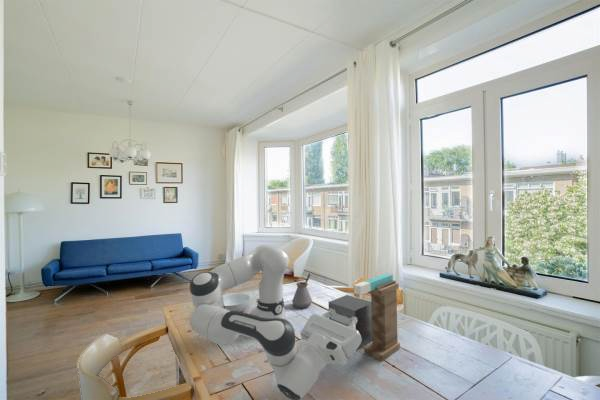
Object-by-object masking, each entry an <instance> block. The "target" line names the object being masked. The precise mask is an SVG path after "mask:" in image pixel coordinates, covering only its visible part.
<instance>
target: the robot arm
mask: <svg viewBox="0 0 600 400" xmlns="http://www.w3.org/2000/svg"><path fill="white" fill-rule="evenodd" d="M289 264H290V258H289V256H288V254H287V253H286V252H285V251H284V250H282V249H281V248H278V247H275V246H272V245H268V244H263V245H258V246H257V247H256V248H255V249H253V250H251V251H249V252H248V253H246V254H244V255H242V256H240V257H237V258H235V259H232V260H230V261H227V262H225V263H223V264H221V265H219V266H216V267H215V268H213V269H211V270H209V271H202V272H200V273H197V274H196V275H195V276H193V278H192V279H191V280H190V281H189V292H190V295H191V299H192V305H193V307H194V310H193V311H192V312H191V315H190V317H189V326H190V327H191V329H192V331H194V332H195V333H196V334H198V335H199V336H201V337H202V338H204V339H206V340H207V341H210V342H211V343H215V344H217V345H220V346H225V347H227V346H229V345H232V343H234V342H235V341H236V340H237V339H238V337H239V336H240V335H241V336H244V337H246V338H249V339H253V340H255V341H257V342H258V343H259V344H260V345H261V346H262V348H263V350H264V352H265V355H266V358H267V360H268V362H269V365H270V366H271V368H272V370H273V374H274V376H275V379H276V385H277V388H278V390H279V391H280V392H281V393H282V394H283V395H284V396H285V397H287V398H288V399H290V400H302V399H303V398H304V397H305V396H306V395H307V394H308V392H310V390H311V389H312V387H314V385H315V383H316V382H317V380H318V379H319V375H320V374H321V372H322V371H323V370H324V369H325V368H326V367H327V365H338V366H345V365H346V364H347V363H348V358H350V357H352V356H353V354H355V352H357V351H358V350H357V348H358V347H359V345H360V344H361V341H362V338H361V335H360V333H359V331H358V330H356V323H357V321H358V320H357V318H356V317H354V316H352V318H351V319H350V321H351V323H352V324H351V325H349V326H345V325H343V324H340V323H338V322H335V321H333V320H330V319H329V317H331V316H334V314H335V313H336V312H335V310H334V309H330V310H329V309H328V311H326V312H325V313H323V314H322V315H320V314H317V313H313V314H311V315H310V316H309V318H308V320H306V322H305V325H304V326H303V328H302V330H300V336H301V337H300V338H302V339H303V340H306V341H305V342H304V344H303V345H301V346H300V345H298V344H297V341H296V333H295V327H294V326H293V324H292V323H291V322H290V321H288V320H287V316H286V309H285V307H284V306H285V305H284V304H285V302H284V301H285V300H284V299H285V298H284V297H283V295H284V294H283V285H284V284H283V282H284V276H285V271H286V270H287V269H288V267H289ZM260 272H262V273H261V278H260V281H259V282H258V299H256V302H255V303H257V304H256V307H255V308H253V309H252V310H251V311H250V312H249V313H248V312H247V313H246V312H243V311H241V312H239V311H229V310H227V309H225V305H224V301H223V295H224V294H223V292H225V291H227V290H230V289H233V288H235V287H237V286H240V285H242V284H245V283H247V282H249V281H251V280H252V279H253V278H254V277H255V276H256V275H257V274H259V273H260ZM356 350H357V351H356Z"/></svg>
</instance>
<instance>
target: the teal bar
mask: <svg viewBox="0 0 600 400" xmlns="http://www.w3.org/2000/svg"><path fill="white" fill-rule="evenodd" d="M393 280H394V275H393V274H389V273H384V274H381V275H378V276H375V277H373V278H370V279H367V280H364V281H361V282H358V283H356V284H354V285H353V293H354V294H356V295H361V296H362V295H364V294H368V293H367V292H370V291H372V290H375V289H376V287H378V286H381V285H383V284H386V283H388V282H391V281H393Z"/></svg>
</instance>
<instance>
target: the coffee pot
mask: <svg viewBox="0 0 600 400" xmlns="http://www.w3.org/2000/svg"><path fill="white" fill-rule="evenodd" d="M311 276H313V274H312V273H308V275H307V277H306V280H305V281H299V282H296V287H297V288H296V290H295V293H294V295H293V298H292V299H291V300H292V305H294V306H295V307H296V308H297V309H307V308H309V307H310V306H311V305H312V302H313V299H312V297H311V294H310V293H309V290H308V281H309V279H310V277H311Z"/></svg>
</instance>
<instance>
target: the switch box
mask: <svg viewBox="0 0 600 400" xmlns="http://www.w3.org/2000/svg"><path fill="white" fill-rule="evenodd" d="M330 309H334V310H335V312H336V313H335V314H334V316H331V317H329V318H328V319H330V320H333V321H335V322H338V323H340V324H343V325H345V326H349V325H351V324H352V323H351V321H350V319H351V318H352V316H354V317H356V318H357V320H358V321H357V323H356V330H358V331H359V333H360V335H361V338H362V341H361V344H360V345H359V347H358V348H357V350H356V351H355V352H357V351H359V350H360V349H362V348H365V347H366V346H368V345H369V344H371V343H372V312H371V300H367V299H363V298H360V297H356V296H352V295H349V294H346V295H343V296H341V297H338V298H336V299H332V300H330V301H328V311H329V310H330Z"/></svg>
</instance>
